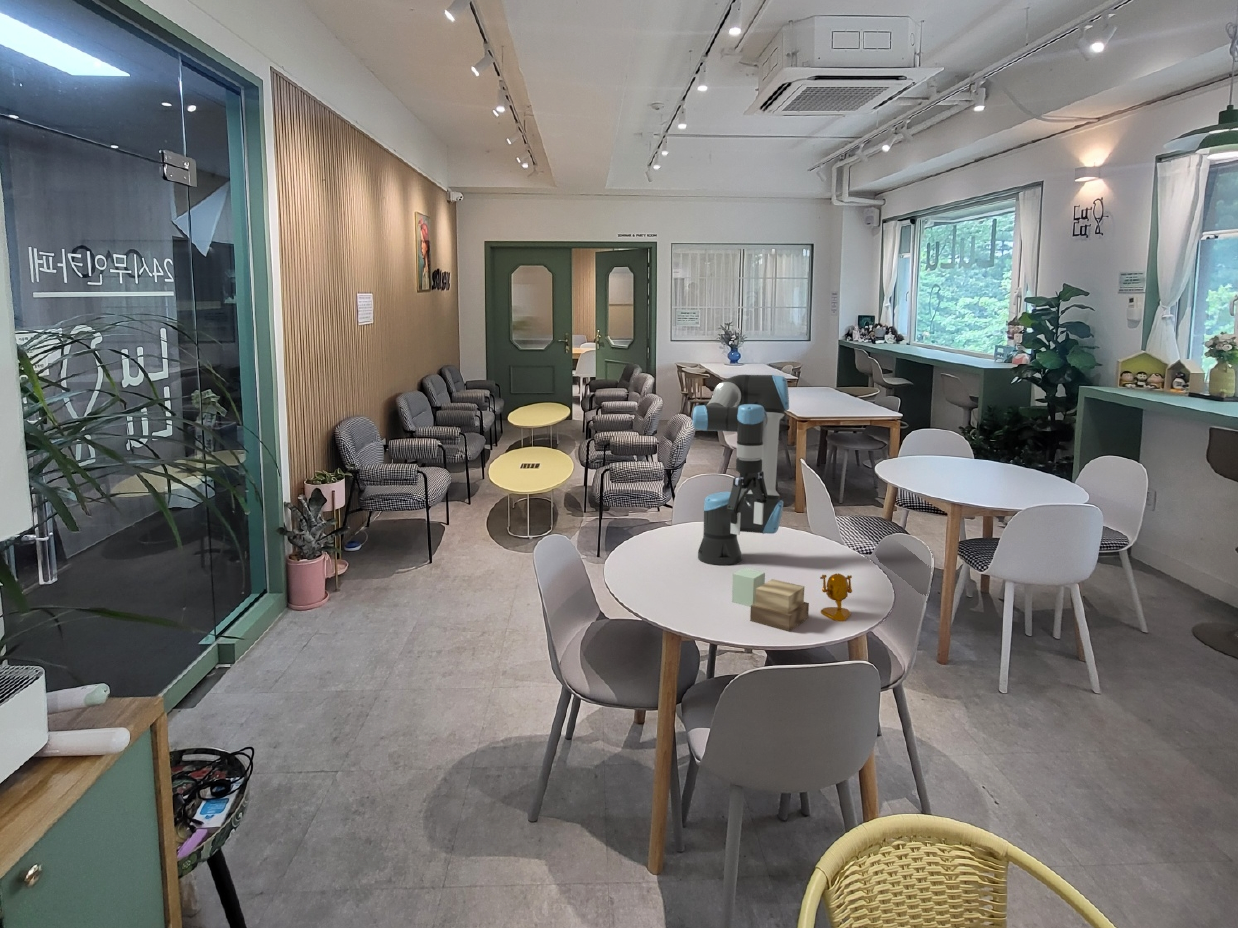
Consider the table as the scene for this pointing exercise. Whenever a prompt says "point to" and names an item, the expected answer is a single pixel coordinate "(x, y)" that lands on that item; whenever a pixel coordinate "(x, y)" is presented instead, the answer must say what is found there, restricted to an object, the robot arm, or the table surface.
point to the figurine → (837, 596)
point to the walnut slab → (779, 617)
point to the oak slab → (780, 596)
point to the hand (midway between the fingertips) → (746, 528)
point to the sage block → (746, 586)
